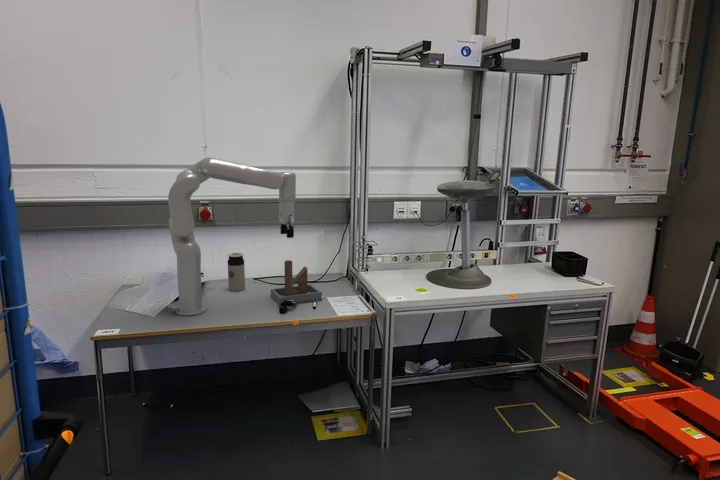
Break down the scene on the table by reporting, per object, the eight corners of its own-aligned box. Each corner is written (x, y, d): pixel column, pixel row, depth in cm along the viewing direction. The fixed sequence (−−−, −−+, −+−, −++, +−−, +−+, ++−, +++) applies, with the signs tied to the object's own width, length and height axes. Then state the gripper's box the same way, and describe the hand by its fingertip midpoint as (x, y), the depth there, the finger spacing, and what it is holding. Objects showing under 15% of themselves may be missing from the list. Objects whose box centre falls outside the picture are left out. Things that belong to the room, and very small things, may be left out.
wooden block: (307, 296, 229) (307, 260, 225) (286, 299, 224) (285, 262, 220) (304, 294, 232) (304, 258, 229) (283, 297, 227) (283, 260, 224)
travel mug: (239, 286, 247) (238, 251, 243) (248, 289, 241) (247, 254, 238) (225, 289, 241) (224, 254, 237) (234, 292, 236) (232, 257, 232)
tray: (279, 306, 217) (279, 297, 217) (270, 297, 230) (270, 289, 229) (321, 300, 227) (321, 292, 226) (310, 291, 239) (310, 284, 238)
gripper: (274, 197, 227) (274, 232, 230) (284, 201, 212) (284, 239, 215) (289, 197, 230) (289, 232, 233) (301, 201, 215) (300, 238, 218)
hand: (287, 235), depth 224 cm, fingers open, 9 cm apart
